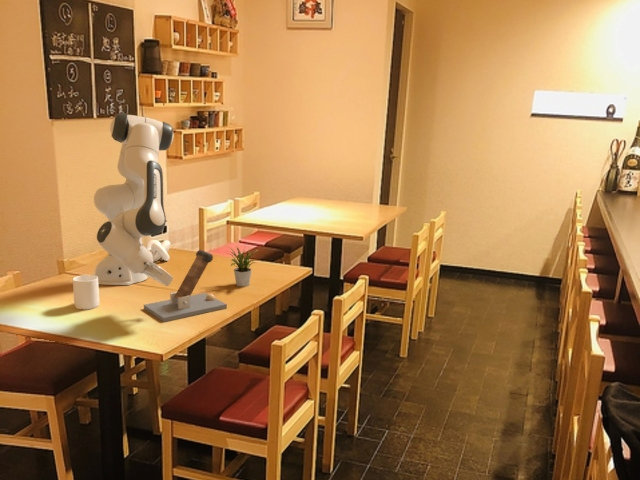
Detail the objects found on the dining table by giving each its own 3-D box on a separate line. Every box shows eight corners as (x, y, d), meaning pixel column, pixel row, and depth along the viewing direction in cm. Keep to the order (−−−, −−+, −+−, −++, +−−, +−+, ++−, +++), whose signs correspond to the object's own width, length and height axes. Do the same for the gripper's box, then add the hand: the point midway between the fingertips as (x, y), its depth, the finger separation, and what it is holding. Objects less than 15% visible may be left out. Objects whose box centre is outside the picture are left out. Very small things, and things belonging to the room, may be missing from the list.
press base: (163, 322, 198) (163, 306, 197) (143, 308, 210) (143, 293, 209) (226, 308, 213) (226, 293, 212) (204, 296, 225) (204, 282, 224)
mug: (85, 298, 219) (83, 271, 217) (107, 299, 219) (105, 272, 216) (70, 309, 207) (68, 281, 205) (93, 310, 207) (92, 282, 205)
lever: (180, 300, 206) (207, 252, 209) (172, 296, 211) (198, 248, 214) (187, 304, 208) (214, 256, 211) (179, 299, 213) (205, 252, 216)
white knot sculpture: (157, 255, 282) (156, 237, 280) (178, 258, 278) (178, 239, 276) (141, 261, 272) (140, 241, 270) (163, 264, 268) (162, 244, 266)
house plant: (214, 286, 237) (214, 246, 233) (232, 277, 250) (232, 239, 246) (246, 291, 232) (246, 250, 228) (263, 282, 245) (263, 243, 241)
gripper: (158, 259, 190) (187, 283, 198) (132, 246, 205) (160, 269, 213) (146, 274, 188) (175, 298, 196) (120, 261, 203) (149, 283, 211)
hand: (167, 283), depth 205 cm, fingers closed
